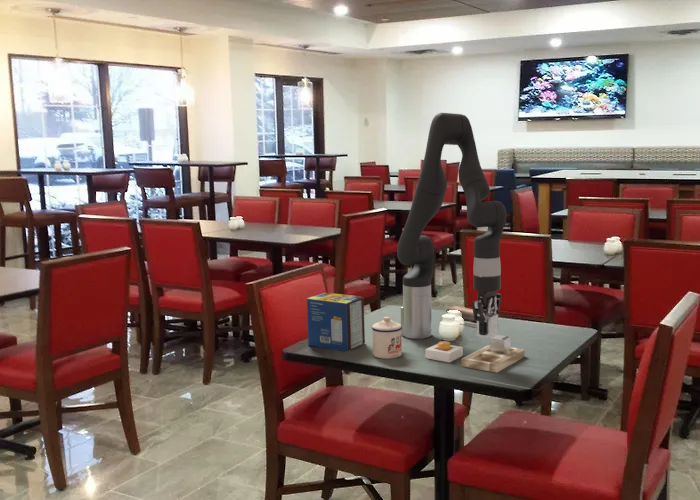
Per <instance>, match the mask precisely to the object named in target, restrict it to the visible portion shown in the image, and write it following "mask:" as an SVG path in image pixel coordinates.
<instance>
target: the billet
mask: <svg viewBox="0 0 700 500" xmlns="http://www.w3.org/2000/svg"><path fill="white" fill-rule="evenodd" d="M489 339H490V352H493V353H499V354H505V355H506V354H508V353H510V352H511V347H512V346H511V345H512V340H511V339H512V336H511V335H510V336H509V335H502V334H498V335H497V336H495V337H493V338H489Z"/></svg>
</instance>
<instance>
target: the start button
mask: <svg viewBox="0 0 700 500" xmlns="http://www.w3.org/2000/svg"><path fill="white" fill-rule="evenodd" d="M437 342H438V343H437V344H438V350H443V351H448V350H450V345H451V341H446V340H443V341H437Z"/></svg>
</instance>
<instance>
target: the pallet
mask: <svg viewBox="0 0 700 500" xmlns="http://www.w3.org/2000/svg"><path fill="white" fill-rule="evenodd" d="M525 352H526V351H525V349H524V348H518V347H512V346H511V352H510V353H508V354H506V355H505V354H499V353H493V352H490V344H487V345H486V346H484V347H481V348H480V349H478V350H476V351H473V352H472V353H470V354H468V355H466V356H464V357H462V358H461V359H460V360H461V361H460V362H461V367H465V368H471V369H476V370H480V371H485V372H486V371H487V372H491V373H499V372H501V371H503V370H504V369H507V368H508V367H509V366H511V365H513V364H515V363H516V362H518V361H519V360H522V359H523V358H524V357H525V354H526V353H525Z"/></svg>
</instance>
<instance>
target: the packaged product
mask: <svg viewBox="0 0 700 500" xmlns="http://www.w3.org/2000/svg"><path fill="white" fill-rule="evenodd" d="M449 310H458V311H460V312H461V313H462V318H463V319H464V322H465V325H464V326H467V327H469V328H470V327H471V328H474V327H475V329H477V321H475V320H474V314H473V308H468V307H464V306H459V305H455V306H450V307H448V308H446V309H445V312H447V311H449ZM477 315H478V314H477Z"/></svg>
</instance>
